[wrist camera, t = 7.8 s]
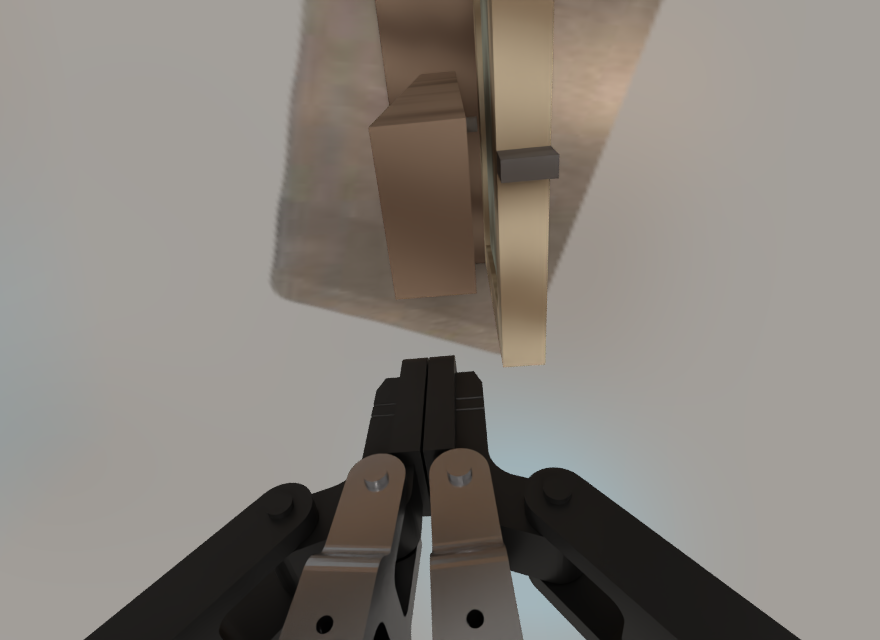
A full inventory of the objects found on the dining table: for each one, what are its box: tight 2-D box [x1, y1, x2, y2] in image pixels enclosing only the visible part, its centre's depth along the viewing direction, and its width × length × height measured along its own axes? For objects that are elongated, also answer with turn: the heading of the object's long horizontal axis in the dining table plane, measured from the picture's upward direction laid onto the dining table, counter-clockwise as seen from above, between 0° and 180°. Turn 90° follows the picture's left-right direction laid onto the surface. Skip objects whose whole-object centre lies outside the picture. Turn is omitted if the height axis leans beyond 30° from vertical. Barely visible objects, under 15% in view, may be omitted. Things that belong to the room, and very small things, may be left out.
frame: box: [473, 0, 559, 367], centre depth 28 cm, size 24×2×18 cm, turn 5°
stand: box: [369, 0, 486, 299], centre depth 29 cm, size 30×11×32 cm, turn 5°
